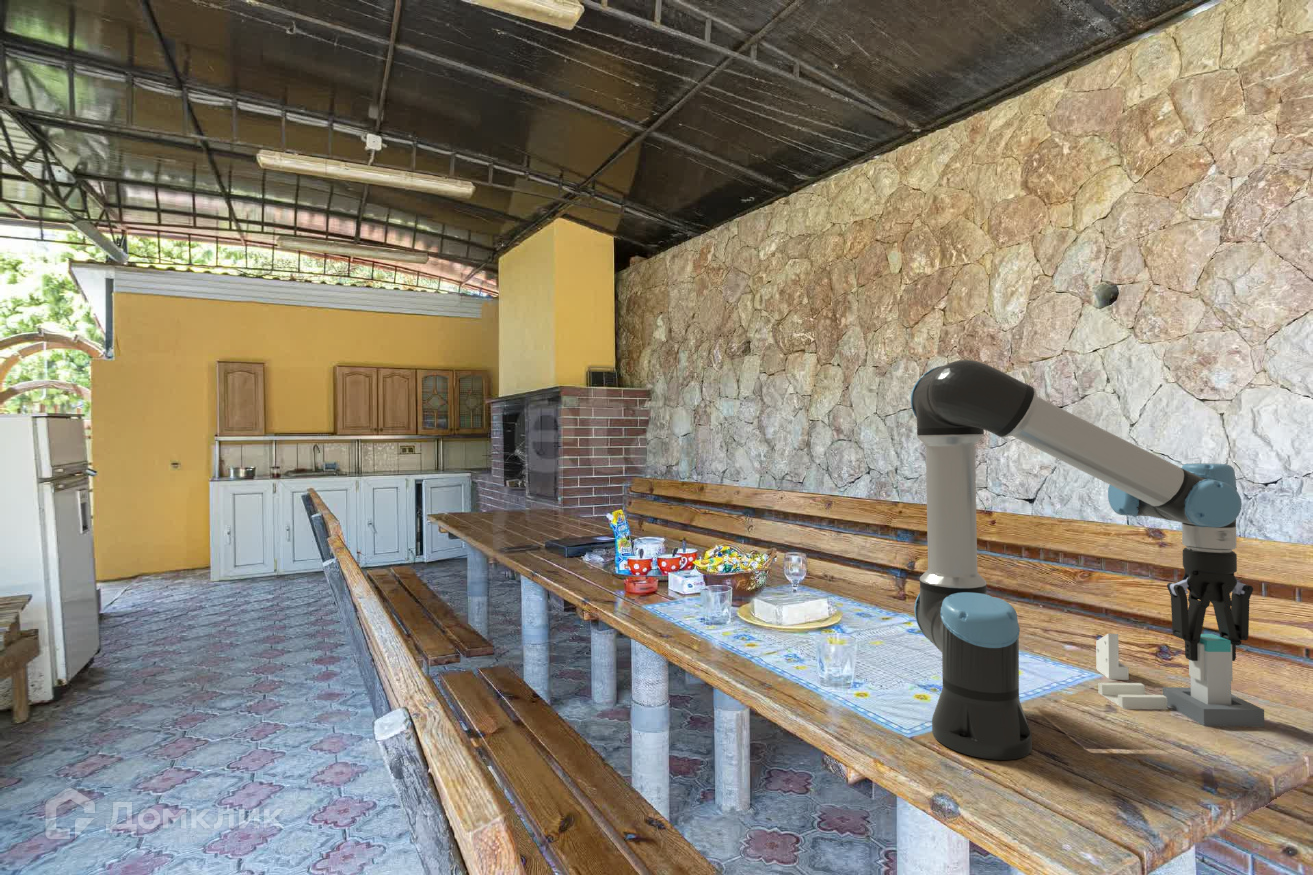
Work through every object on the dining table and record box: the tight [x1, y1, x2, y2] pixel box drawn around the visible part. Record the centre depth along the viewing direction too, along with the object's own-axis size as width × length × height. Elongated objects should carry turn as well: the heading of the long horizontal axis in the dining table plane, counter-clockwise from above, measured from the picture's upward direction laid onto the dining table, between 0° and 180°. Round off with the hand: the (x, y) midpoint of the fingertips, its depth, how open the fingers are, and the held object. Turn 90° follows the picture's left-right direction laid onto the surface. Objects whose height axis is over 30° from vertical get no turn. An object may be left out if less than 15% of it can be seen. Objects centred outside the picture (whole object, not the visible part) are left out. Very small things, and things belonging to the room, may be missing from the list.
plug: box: [1190, 633, 1232, 705], centre depth 119 cm, size 4×4×14 cm
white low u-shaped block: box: [1096, 682, 1169, 710], centre depth 126 cm, size 8×8×3 cm
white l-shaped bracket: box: [1095, 633, 1130, 681], centre depth 138 cm, size 4×10×9 cm
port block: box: [1162, 686, 1265, 728], centre depth 119 cm, size 10×10×4 cm
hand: (1210, 677), depth 119 cm, fingers closed on plug, 4 cm apart
